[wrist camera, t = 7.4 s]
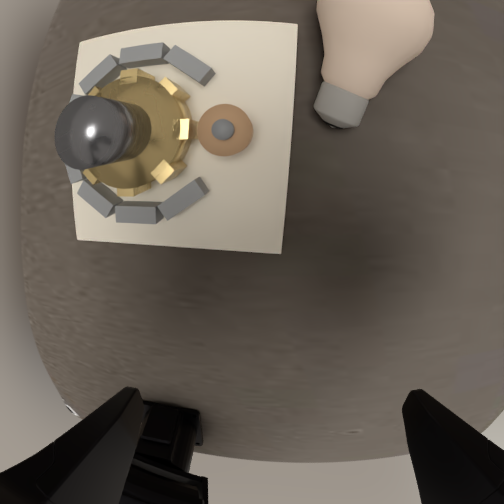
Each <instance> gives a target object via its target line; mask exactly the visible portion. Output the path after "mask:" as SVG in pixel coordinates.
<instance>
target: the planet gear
mask: <svg viewBox="0 0 504 504" xmlns="http://www.w3.org/2000/svg"><path fill="white" fill-rule="evenodd" d="M190 97H191V96H190V95H189V94H188V93H187V92H186V91H185V90H184V89H183V88H182V87H181V86H180V85H178V84H177V83H175V82H173V81H172V80H170V79H168V78H167V77H164V78H163V79H162V80H161V81H160V82H157V81H155V77H154V76H152V75H150V74H148V73H146V72H144V71H143V70H141V69H139V68H135V69H128V70H122V71H121V72H120V79H117V80H115V81H113V82H111V83H109V84H107V85H106V86H104V87H103V88H101V87H97V86H95V87H94V88H93V89H92V91H91V92H90V93H89V94H88V95H86V96H81V97H78V98H76V99H74V100H73V101H71V102H70V103H69V104H68V105H67V106H66V107H65V108H64V110H63V111H62V113H61V114H60V116H59V119H58V121H57V124H56V129H55V146H56V150H57V152H58V155H59V156H60V158H61V160H62V161H63V162H64V163H65V164H66V165H67V166H69V167H71V168H73V169H77V170H84V169H85V170H84V171H83V174H84V175H85V176H86V177H87V179H88V180H89V181H90V182H91V183H92V184H93V185H95V184H98V183H101V182H102V183H104V184H106V185H108V186H111V187H114V188H117V196H124V197H134V196H136V195H138V194H140V193H142V192H144V191H146V190H149V189H151V182H152V181H155V180H157V181H158V182H159V183H160V184H163V183H165V182H168V181H170V180H172V179H174V178H176V177H177V176H178V175H179V174H180V173H181V172H182V171H183V170H184V169H185V168H186V167H187V165H186V164H185V163H184V162H183V159H184V158H185V156H186V154H187V152H188V150H189V147H190V145H191V141H192V139H198V135H197V127H198V123H199V122H198V121H194V120H192V116H191V113H190V110H189V108H188V106H187V104H186V102H185V101H186V100H187V99H188V98H190Z"/></svg>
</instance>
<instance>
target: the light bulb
mask: <svg viewBox="0 0 504 504" xmlns="http://www.w3.org/2000/svg"><path fill="white" fill-rule="evenodd" d="M316 11H317V15H318V19H319V24H320V28H321V32H322V38H323V46H324V59H323V64H322V69H321V74H322V77H323V79H324V81H323V82H322V84H321V87H320V90H319V92H318V95H317V97H316V100H315V103H314V106H313V107H314V109H315V110H316V112H317V113H318V114H319V115H320V117H321V118H322V120H323V121H324V122H325V123H327V124H328V125H329V126H330V127H332V128H334V127H335V128H339V129H343V128H349V127H357V126H359V124H360V122H361V119H362V117H363V115H364V112H365V110H366V107H367V105H368V102H369V101H368V100H369V99H371V98H373V97H375V96H377V94H378V92H379V91H380V89H381V87H382V86H383V84H384V82H385V81H386V80H387V79H388V78H389V77H390V76H391V75H392V74H394V73H395V72H396V71H397V70H398V69H400V68H401V67H402V66H404V65H405V64H406V63H408V62H409V61H411V60H412V59H414V58H415V57H417V56H418V55H419V54H421V52H422V51H423V49H424V48H425V47H426V45H427V44H428V42H429V41H430V39H431V37H432V34H433V25H434V11H433V8H432V6H431V3H430V0H317V8H316Z"/></svg>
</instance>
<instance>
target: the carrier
mask: <svg viewBox="0 0 504 504" xmlns="http://www.w3.org/2000/svg"><path fill="white" fill-rule="evenodd" d="M297 28H298V24H291V23H280V22H265V21H202V22H187V23H176V24H167V25H159V26H152V27H146V28H140V29H134V30H129V31H123V32H119V33H114V34H110V35H105V36H101V37H97V38H93V39H90V40H86V41H82V42H80V45H79V51H78V58H77V65H76V73H75V82H74V93H73V94H72V96H71V99H70V102H71V101H73V100H74V99H76V98H78V97H81V96H86V95H88V94H89V93H90V92H91V91H92V89H93V88H94V87H95V86H97V87H101V88H103V87H104V86H106V85H107V84H109V83H111V82H113V81H115V80H117V79H120V72H121V71H122V70H128V69H135V68H139V69H141V70H143V71H144V72H146V73H148V74H150V75H152V76H154V77H155V81H157V82H160V81H161V80H162V79H163V78H164V77H167V78H168V79H170V80H172V81H173V82H175V83H177V84H178V85H180V86H181V87H182V88H183V89H184V90H185V91H186V92H187V93H188V94H189V95H190V96H191V97H190V98H188V99H187V100H186V101H185V102H186V104H187V106H188V108H189V110H190V113H191V116H192V120H194V121H198V122H199V123H198V127H197V135H198V139H192V141H191V145H190V147H189V150H188V152H187V154H186V156H185V158H184V159H183V162H184V163H185V164H186V165H187V167H186V168H185V169H184V170H183V171H182V172H181V173H180V174H179V175H178V176H177V177H176V178H174V179H172V180H170V181H168V182H165V183H163V184H160V183H159V182H158V181H157V180H155V181H152V182H151V189H149V190H146V191H144V192H142V193H140V194H138V195H136V196H134V197H124V196H117V188H114V187H111V186H108V185H106V184H104V183H102V182H101V183H98V184H95V185H93V184H92V183H91V182H90V181H89V180H88V179H87V177H86V176H85V175H84V174H83V171H84V170H85V169H84V170H77V169H73V168H71V167H69V166H67V165H66V164H65V165H66V168H67V172H68V176H69V179H70V182H71V184H72V190H73V204H74V215H75V225H76V234H77V240H88V241H102V242H116V243H130V244H145V245H159V246H173V247H187V248H201V249H216V250H230V251H244V252H258V253H272V254H281V250H282V240H283V230H284V219H285V208H286V197H287V186H288V174H289V161H290V149H291V135H292V121H293V106H294V89H295V71H296V52H297Z"/></svg>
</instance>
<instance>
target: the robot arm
mask: <svg viewBox="0 0 504 504" xmlns="http://www.w3.org/2000/svg"><path fill="white" fill-rule="evenodd" d="M402 414H403V419H404V425H405V431H406V438H407V444H408V449H409V453H410V456H411V460H412V464H413V468H414V472H415V476H416V480H417V485H418V489H419V493H420V498H421V503H422V504H504V450H503V449H501V448H500V447H498V446H497V445H496V444H494V443H493V442H492V441H490V440H488V439H487V438H486V437H485V436H483V435H482V434H481V433H479V432H478V431H477V430H475V429H474V428H473V427H471V426H470V425H469V424H467V423H466V422H465V421H463V420H462V419H461V418H459V417H458V416H457V415H455V414H454V413H453V412H452V411H450V410H449V409H448V408H446V407H445V406H444V405H442V404H441V403H440V402H438V401H437V400H436V399H434V398H433V397H432V396H430V395H429V394H428V393H426V392H425V391H424V390H422V389H417V390H412V391H410V393H409V394H408V396H407V398H406V400H405V402H404V404H403V407H402ZM141 422H142V424H141ZM140 426H141V427H140ZM202 444H203V437H202V429H201V420H200V413H199V412H198V411H196V410H190V409H183V408H177V407H171V406H165V405H160V404H155V403H150V402H145V401H142V398H141V395H140V392H139V390H138V389H137V388H133V387H125V388H123V389H122V390H121V391H120V392H118V393H117V394H116V395H114V396H113V397H112V398H110V399H109V400H108V401H107V402H105V403H104V404H103V405H101V406H100V407H99V408H97V409H96V410H95V411H93V412H92V413H91V414H90V415H88V416H87V417H86V418H84V419H83V420H82V421H80V422H79V423H78V424H76V425H75V426H74V427H72V428H71V429H70V430H68V431H67V432H66V433H64V434H63V435H62V436H60V437H59V438H57V439H56V440H55V441H54V442H52V443H50V444H49V445H48V446H46V447H45V448H43V449H42V450H41V451H39V452H38V453H36V454H35V455H33V456H31V457H29V458H28V459H26V460H24V461H22V462H20V463H18V464H17V465H15V466H13V467H11V468H9V469H7V470H5V471H3V472H1V473H0V504H208V478H206V477H203V476H201V477H200V476H197V475H193V474H190V473H189V470H190V464H191V460H192V455H193V450H194V445H196V446H202Z"/></svg>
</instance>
